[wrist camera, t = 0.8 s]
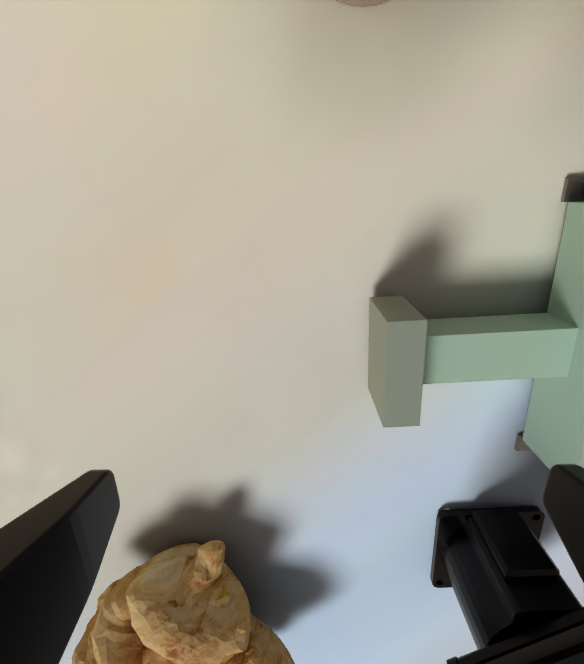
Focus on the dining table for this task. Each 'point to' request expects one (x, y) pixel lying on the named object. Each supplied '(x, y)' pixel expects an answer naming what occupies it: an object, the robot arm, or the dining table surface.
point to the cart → (493, 355)
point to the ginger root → (179, 615)
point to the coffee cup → (363, 2)
